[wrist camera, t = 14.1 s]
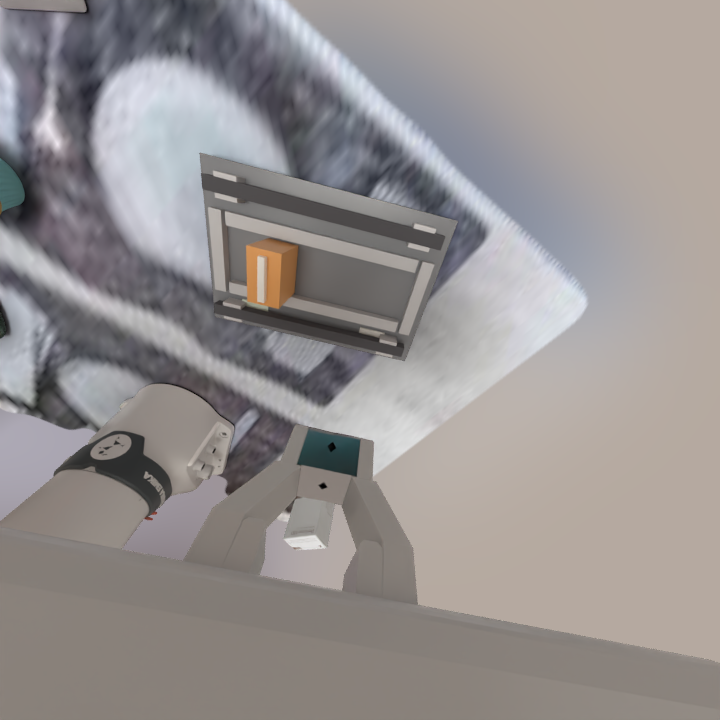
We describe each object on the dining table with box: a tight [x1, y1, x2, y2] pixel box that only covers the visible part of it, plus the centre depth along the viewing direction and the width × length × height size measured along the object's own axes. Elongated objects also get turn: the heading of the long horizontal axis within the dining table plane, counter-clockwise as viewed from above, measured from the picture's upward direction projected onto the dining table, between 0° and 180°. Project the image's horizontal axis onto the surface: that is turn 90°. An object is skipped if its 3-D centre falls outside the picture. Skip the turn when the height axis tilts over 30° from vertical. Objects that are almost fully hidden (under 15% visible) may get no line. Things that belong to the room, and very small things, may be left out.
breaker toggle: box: [246, 238, 298, 309], centre depth 25 cm, size 5×3×6 cm, turn 167°
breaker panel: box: [200, 153, 458, 361], centre depth 28 cm, size 16×24×4 cm, turn 77°
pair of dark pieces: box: [201, 173, 445, 357], centre depth 26 cm, size 13×22×1 cm, turn 77°
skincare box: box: [283, 496, 335, 550], centre depth 44 cm, size 6×4×12 cm
